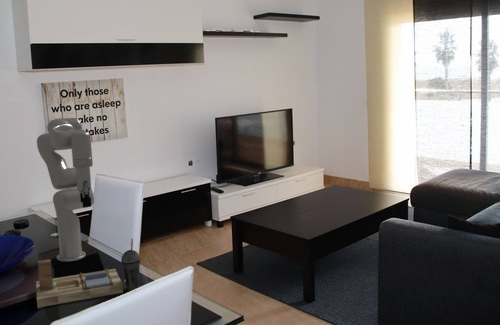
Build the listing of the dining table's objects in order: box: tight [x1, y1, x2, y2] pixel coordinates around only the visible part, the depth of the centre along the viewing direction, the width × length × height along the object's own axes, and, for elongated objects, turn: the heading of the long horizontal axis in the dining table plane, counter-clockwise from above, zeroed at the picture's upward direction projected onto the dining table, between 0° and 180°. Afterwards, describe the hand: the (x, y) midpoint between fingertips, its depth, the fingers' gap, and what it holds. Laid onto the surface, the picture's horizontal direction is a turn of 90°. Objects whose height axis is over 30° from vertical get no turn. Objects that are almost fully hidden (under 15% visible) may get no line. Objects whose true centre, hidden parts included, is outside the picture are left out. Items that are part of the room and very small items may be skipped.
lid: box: [85, 270, 110, 288], centre depth 197 cm, size 8×8×2 cm
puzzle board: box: [35, 268, 124, 309], centre depth 198 cm, size 18×30×4 cm, turn 113°
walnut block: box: [37, 259, 53, 291], centre depth 193 cm, size 4×4×10 cm
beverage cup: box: [120, 238, 141, 292], centre depth 197 cm, size 7×7×20 cm
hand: (85, 204), depth 209 cm, fingers open, 9 cm apart
